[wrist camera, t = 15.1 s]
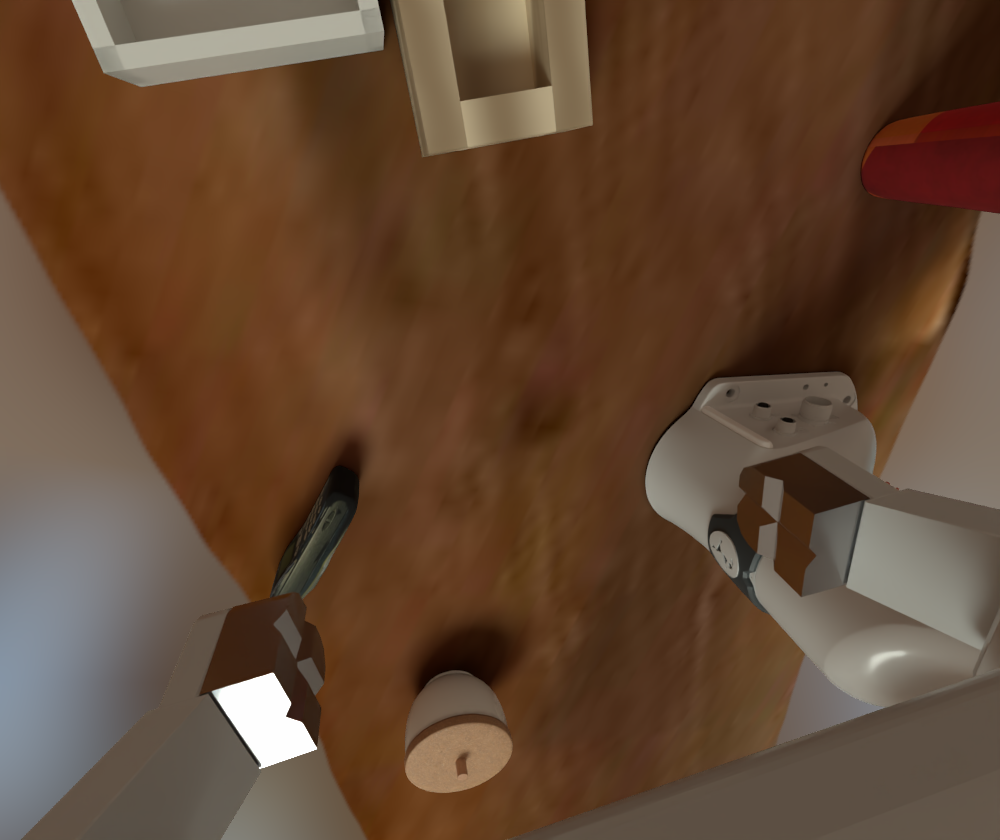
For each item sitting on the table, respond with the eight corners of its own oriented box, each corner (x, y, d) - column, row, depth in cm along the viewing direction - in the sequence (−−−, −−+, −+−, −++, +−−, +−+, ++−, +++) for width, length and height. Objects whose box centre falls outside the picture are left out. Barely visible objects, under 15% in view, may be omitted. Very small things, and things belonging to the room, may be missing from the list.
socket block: (548, -60, 30) (578, -100, 26) (565, 131, 35) (592, 125, 30) (382, -38, 29) (382, -76, 24) (422, 157, 33) (429, 154, 29)
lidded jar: (465, 639, 54) (481, 723, 45) (513, 688, 59) (536, 772, 50) (381, 690, 54) (382, 782, 46) (436, 734, 59) (445, 824, 51)
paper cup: (896, 223, 43) (1102, 242, 31) (831, 193, 41) (1027, 201, 28) (952, 123, 40) (1204, 100, 28) (886, 85, 38) (1130, 42, 26)
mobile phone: (326, 490, 37) (250, 635, 41) (365, 503, 39) (287, 643, 42) (331, 458, 42) (262, 592, 46) (366, 471, 43) (295, 601, 47)
